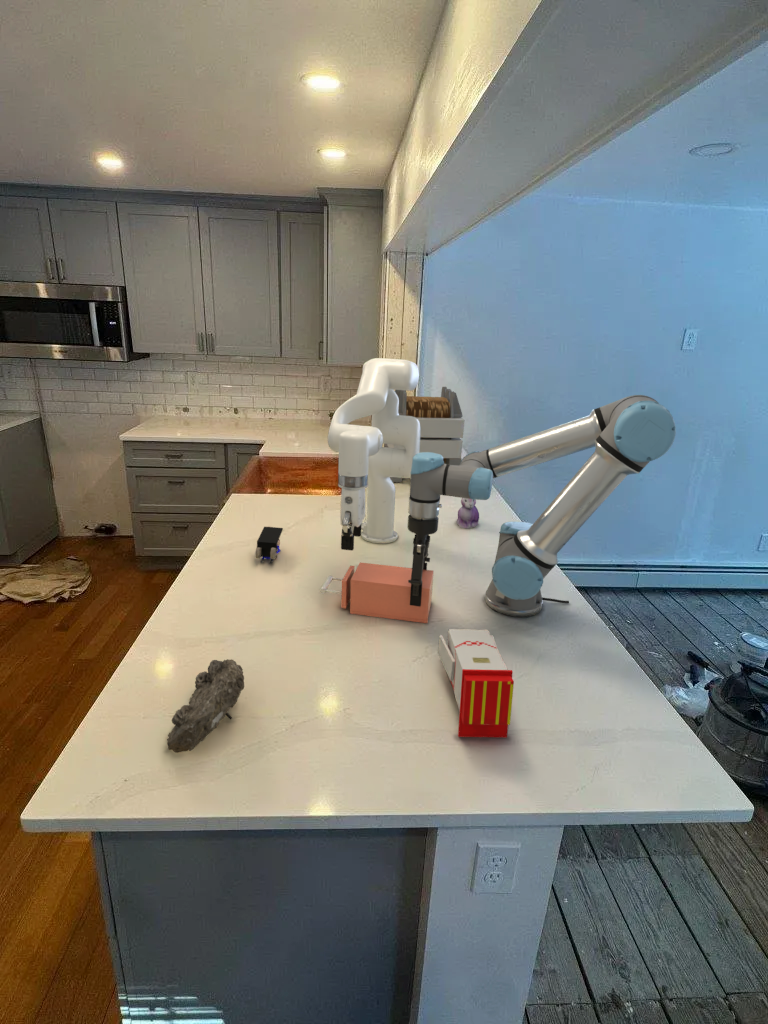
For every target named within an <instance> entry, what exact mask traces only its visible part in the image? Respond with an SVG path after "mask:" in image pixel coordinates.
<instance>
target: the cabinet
mask: <svg viewBox="0 0 768 1024" xmlns="http://www.w3.org/2000/svg"><path fill="white" fill-rule="evenodd" d="M411 574H412V567H406V566H404V567H403V566H397V565H388V564H377V563H371V562H370V563H369V562H362V561H361V562H360V561H359V563H358V565H357V567H356V569H355V570H354V575H353V577H352V579H351V595H350V601H349V614H350V615H358V616H368V617H375V618H382V619H390V620H399V621H406V622H412V623H413V622H415V623H422V624H428V622H429V616H430V611H431V605H432V599H433V598H432V597H433V583H434V570H432V569H427V570H423V574H422V595H421V606H412V605H410V593H411V583H408V580H411Z"/></svg>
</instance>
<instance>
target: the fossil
mask: <svg viewBox="0 0 768 1024" xmlns="http://www.w3.org/2000/svg"><path fill="white" fill-rule="evenodd" d="M243 670H244V669H243V667H242V665H240V664H237V662H236V661H235V660H234V659H232V658H231V659H227V658H226V659H224V660H223V661H222V660H217V659H212V660H211V661H210V663H209V665H208V666H207V671H201V672H199V673H198V674H197V675H196V676H195V680H194V684H195V685H194V687H195V689H194V690H193V693H192V694H191V697H190V698H189V700H188V704H184V705H182V706H181V707H180V709H177V710H176V711H175V713H174V715H173V716H172V718H171V723H172V724H173V727H172V730H171V731H170V732H168V734H167V738H166V741H167V742H166V745H167V749H168V750H169V751H173V752H174V753H176V754H178V753H182V752H188V751H189V752H192V751H193V750H195V748H196V747H197V746H199V744H200V743H201V742H203V741H204V740H205V739H206V738H207V737H208V736H209V735H210V734H211V733H212V732H214V730H215V729H217V727H218V726H219V724H220V722H221V721H222V720H223V719H224V718H225V716H226V717H227V719H229V720H233V717H232V715H230V714H229V710H230V709H231V708H234V706H235V704H236V703H237V702H238V699H239V697H240V695H241V693H242V691H243V690H245V689H244V688H245V675H244V671H243Z"/></svg>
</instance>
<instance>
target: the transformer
mask: <svg viewBox="0 0 768 1024" xmlns="http://www.w3.org/2000/svg"><path fill="white" fill-rule="evenodd" d="M394 391H395V393H396V394H397V396H398V399H399V408H398V413H399V415H403V416H412V417H415V418H417V419H418V421H419V423H420V450H419V453H422V452H431V453H435V454H440V455H442V456H443V461H444V464H449V465H457V466H459V465H460V463H461V461H462V459H463V458H462V453H463V442H464V441H463V440H462V439H463V438H464V431H465V430H464V429H465V419H464V418H463V411H462V408H461V405H460V402H459V398H458V395H457V392H455V391H453V390H452V389H451V388H447V386H442V387H441V392H440V393H441V394H440V396H415V395H414V396H413V395H412V396H411V395H407V394H408V393H407V390H394ZM383 447H388V448H398V449H405V447H404V446H403V445H394V444H383ZM389 478H390V479H391V480H392V482H393V483H402V482H403V478H397V477H389Z"/></svg>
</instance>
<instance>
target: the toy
mask: <svg viewBox="0 0 768 1024" xmlns="http://www.w3.org/2000/svg"><path fill="white" fill-rule="evenodd" d="M446 640H447V643H446V641H445V639H444V636H443V635H442V634H439V637H438V646H437V656H438V657H439V659H440V661H441V663H442V666H443V668H444V670H445V672H446V674H447V677H448V679H449V681H450V684H451V687H452V690H453V693H454V697H455V701H456V705H457V708H458V711H459V714H458V715H459V716H458V730H457V731H458V732H457V737H458V738H508V731H509V726H510V725H511V717H512V707H513V697H514V696H513V695H514V684H515V680H514V679H513V673H514V671H513V670H512V669H508V667H507V665H506V662H505V661H504V659H503V658H502V655H501V653H500V651H499V649H498V647H497V643H496V639H495V637H494V635H493V634H491V632H490V631H489V629H467V628H466V629H465V628H463V629H461V628H460V629H459V628H448V630H447V639H446Z"/></svg>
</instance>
